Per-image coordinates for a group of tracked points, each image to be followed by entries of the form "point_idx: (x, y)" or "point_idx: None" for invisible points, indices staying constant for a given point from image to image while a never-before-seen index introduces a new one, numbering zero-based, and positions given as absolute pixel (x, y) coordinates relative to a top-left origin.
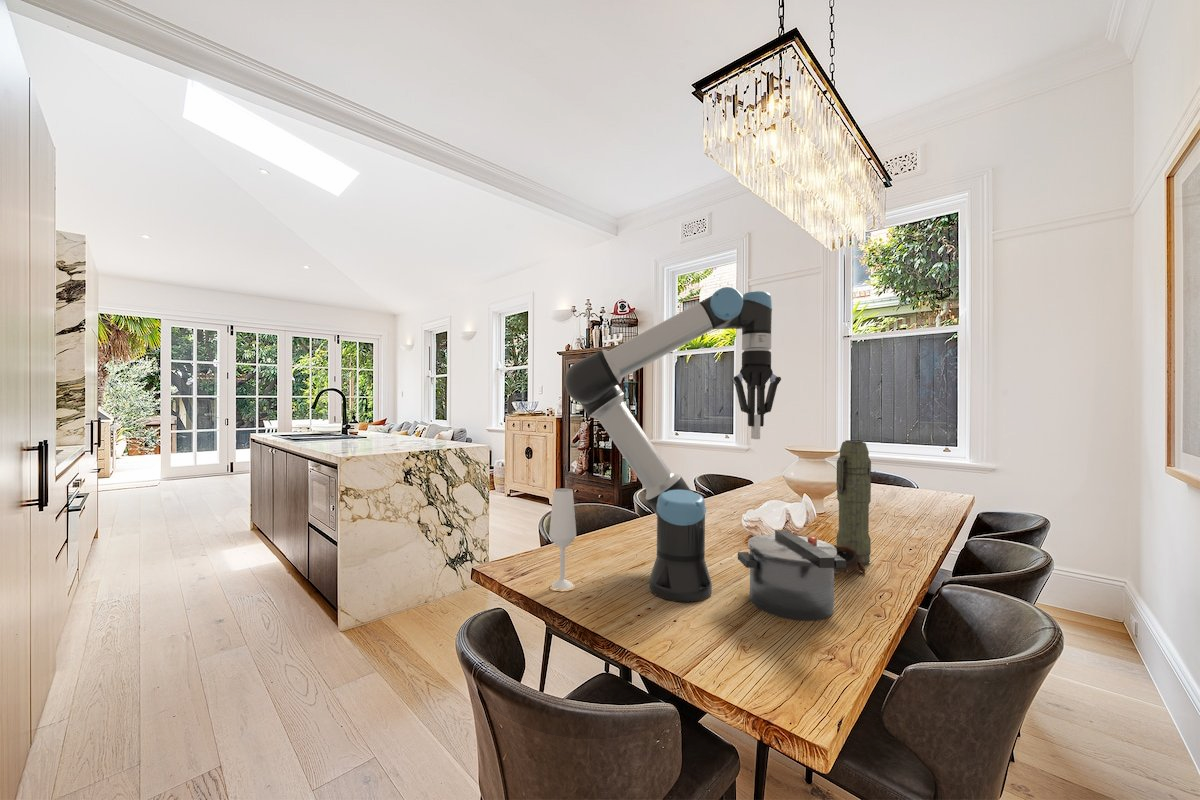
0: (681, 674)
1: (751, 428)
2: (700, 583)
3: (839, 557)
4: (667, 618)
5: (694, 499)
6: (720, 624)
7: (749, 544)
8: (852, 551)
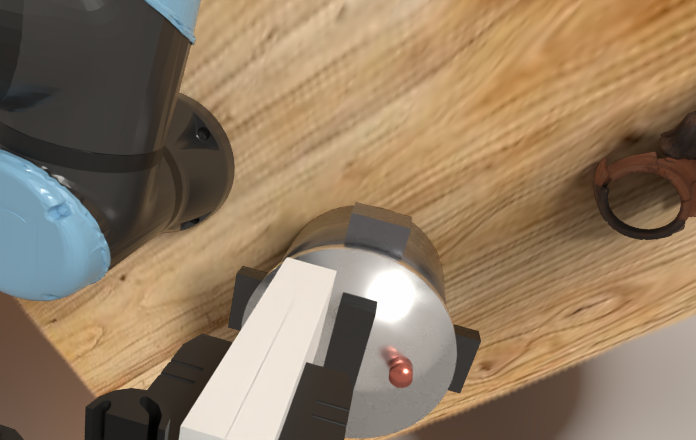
0: (97, 396)
1: (254, 314)
2: (177, 230)
3: (461, 375)
4: (113, 267)
5: (41, 278)
6: (192, 310)
7: (244, 314)
8: (676, 218)
